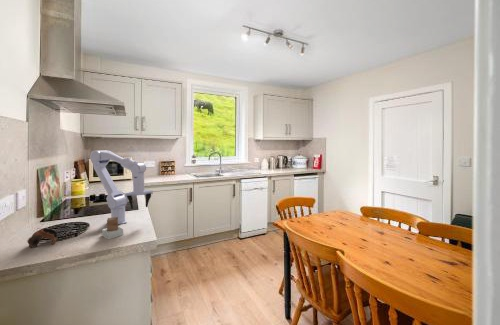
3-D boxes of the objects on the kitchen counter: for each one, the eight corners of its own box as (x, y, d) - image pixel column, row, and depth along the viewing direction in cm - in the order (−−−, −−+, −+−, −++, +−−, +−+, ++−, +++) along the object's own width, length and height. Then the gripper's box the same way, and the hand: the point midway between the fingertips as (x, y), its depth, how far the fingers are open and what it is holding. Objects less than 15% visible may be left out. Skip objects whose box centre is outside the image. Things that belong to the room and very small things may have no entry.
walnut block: (108, 228, 121) (107, 217, 120) (118, 227, 123) (117, 216, 122) (107, 231, 117) (107, 220, 116) (117, 230, 119) (117, 219, 118)
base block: (102, 236, 119) (102, 229, 119) (116, 232, 125) (116, 225, 125) (108, 239, 115) (108, 232, 115) (123, 235, 121) (122, 228, 121)
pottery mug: (36, 242, 112) (47, 226, 113) (54, 250, 112) (65, 234, 114) (15, 246, 100) (27, 228, 102) (36, 256, 100) (48, 238, 102)
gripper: (125, 186, 127) (125, 211, 128) (153, 184, 135) (154, 207, 136) (123, 184, 132) (124, 208, 134) (151, 182, 140) (151, 204, 142)
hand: (139, 207), depth 135 cm, fingers open, 7 cm apart
